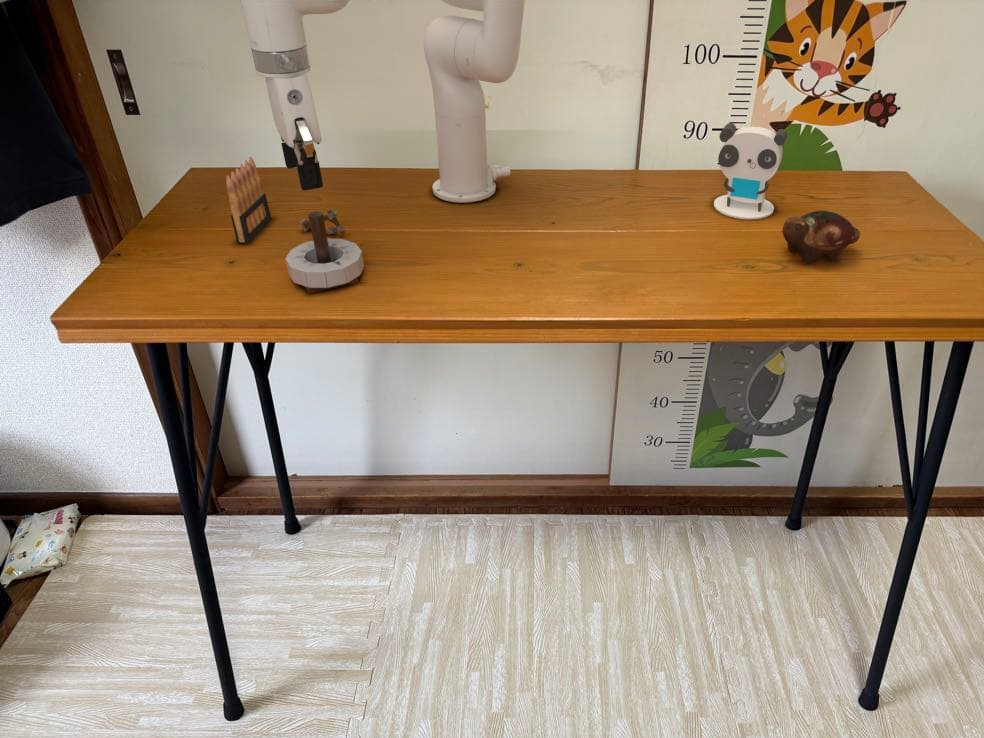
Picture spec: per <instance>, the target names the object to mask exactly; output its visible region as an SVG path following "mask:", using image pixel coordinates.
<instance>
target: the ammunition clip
mask: <svg viewBox="0 0 984 738" xmlns="http://www.w3.org/2000/svg"><path fill="white" fill-rule="evenodd" d="M225 179H226V189H227V194H228V203H229V207H230V211H231V215H230V218H231V223H232V228H233V230H234V235H235V239H236V240H235V241H236V243H237V244H245V245H246V244H249V243H250V242H251V241H252V240H253V239H254V238H255V237H256V236H257V235H258V234H259V233H260V232H261V231H262V230H263V229H264V227H266V225H268V223H269V222H270V221H271V220H272V215H271V211H270V207H269V202H268V199H267V195H266V192H264V189H263V185H262V180H261V178H260V176H259V173H258V169H257V166H256V162H255V161H254V159H253V157H252V156H249V158H248V160H246V159H245V160H244V165H243V164H242V163H241V164H240V166H239V168H238V167H236V168H235V172H234V170H233V171H231V172H230V176H229V174H228V175H226V178H225Z"/></svg>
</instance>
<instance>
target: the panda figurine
mask: <svg viewBox="0 0 984 738" xmlns="http://www.w3.org/2000/svg"><path fill="white" fill-rule="evenodd" d="M718 138H719V141H721V142H722V143H724V144H723V145H722V147H721V149H720V151H719V153H718V158H717V162H718V166H719V168H720V171H721V172H722V174H723V175H724V177H726V179H725V180H724V181H723V186H724V189H725V190H727V194H724V195H720V196H718V197H716V198H715V199H714V202H713V207H714V209H715V210H716V211H717V212H719V213H720V214H722V215H724V216H727V217H730V218H734V219H738V220H739V219H740V220H760V219H765V218H768V217H770V216H771V215H772V214H773V213H774V210H775V206H774V204H773V203H772V202H771V201H769V200H767V199H766V192H767V191H768V189H769V182H768V181H769V180H770V179H772V178H773V177H774V175H776V173H777V171H778V170H779V167H780V165H781V163H782V160H783V146H784V145H785V142H786V140H787V138H788V131H787V130H786V129H785V128H784V129H783V128H779V129H778V130H777V131H776V132H774V131H773V130H772V129H769V128H765V127H760V126H744V127H740V128H738V129H737V126H736V124H734V123H733V122H728V123H726V125H724V127H723V128H722V130H721V131H720V133H719V137H718Z"/></svg>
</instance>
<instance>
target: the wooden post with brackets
mask: <svg viewBox="0 0 984 738" xmlns="http://www.w3.org/2000/svg"><path fill="white" fill-rule="evenodd" d="M338 214H339V213H338V211H336V210H331V209H329V210H327V213H326V214H323V216H324V222H326V221H329V222H330V223H331V224H334V225H333V226H332V227H328V228H326V233H327V235H331V234H333V235H334V234H335V233H336V232H337V231H338V233H340V235H343V234H344V233H345V230H344V228H343V226H342V224H341V223H340V222H339V220H338V218H337V216H338ZM299 224H300V226H301V228H302V229H303V232H307V231H309V230H311V226H310V221H309V219H307V218H304V219H302V221H300V222H299Z"/></svg>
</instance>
